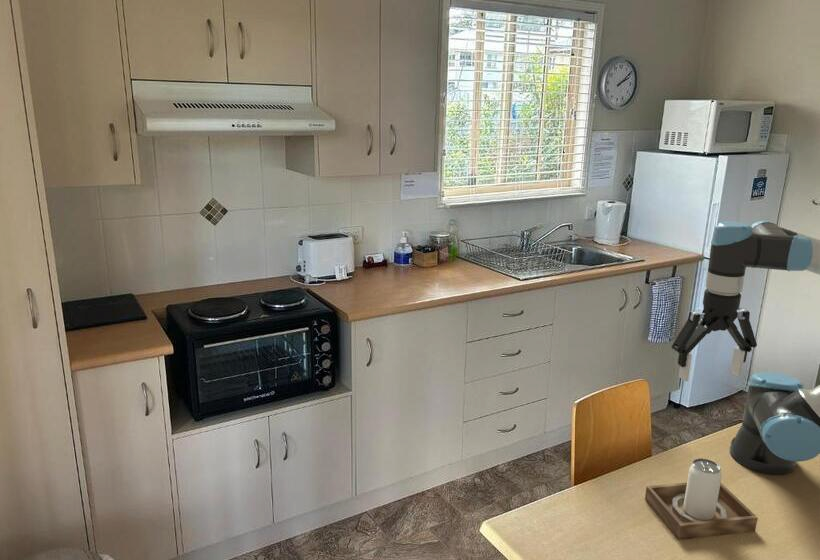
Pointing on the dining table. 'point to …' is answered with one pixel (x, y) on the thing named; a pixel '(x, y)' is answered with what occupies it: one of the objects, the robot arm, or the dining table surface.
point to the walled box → (671, 511)
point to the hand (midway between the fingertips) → (709, 376)
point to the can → (702, 489)
